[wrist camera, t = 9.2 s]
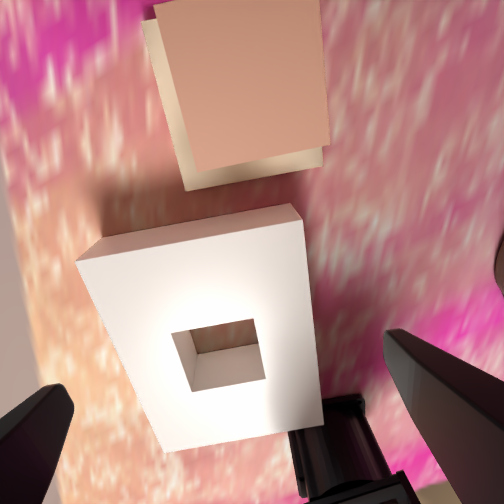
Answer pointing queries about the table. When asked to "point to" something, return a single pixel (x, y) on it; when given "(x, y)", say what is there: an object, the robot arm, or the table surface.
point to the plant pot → (500, 269)
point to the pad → (181, 141)
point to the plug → (247, 77)
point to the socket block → (208, 314)
